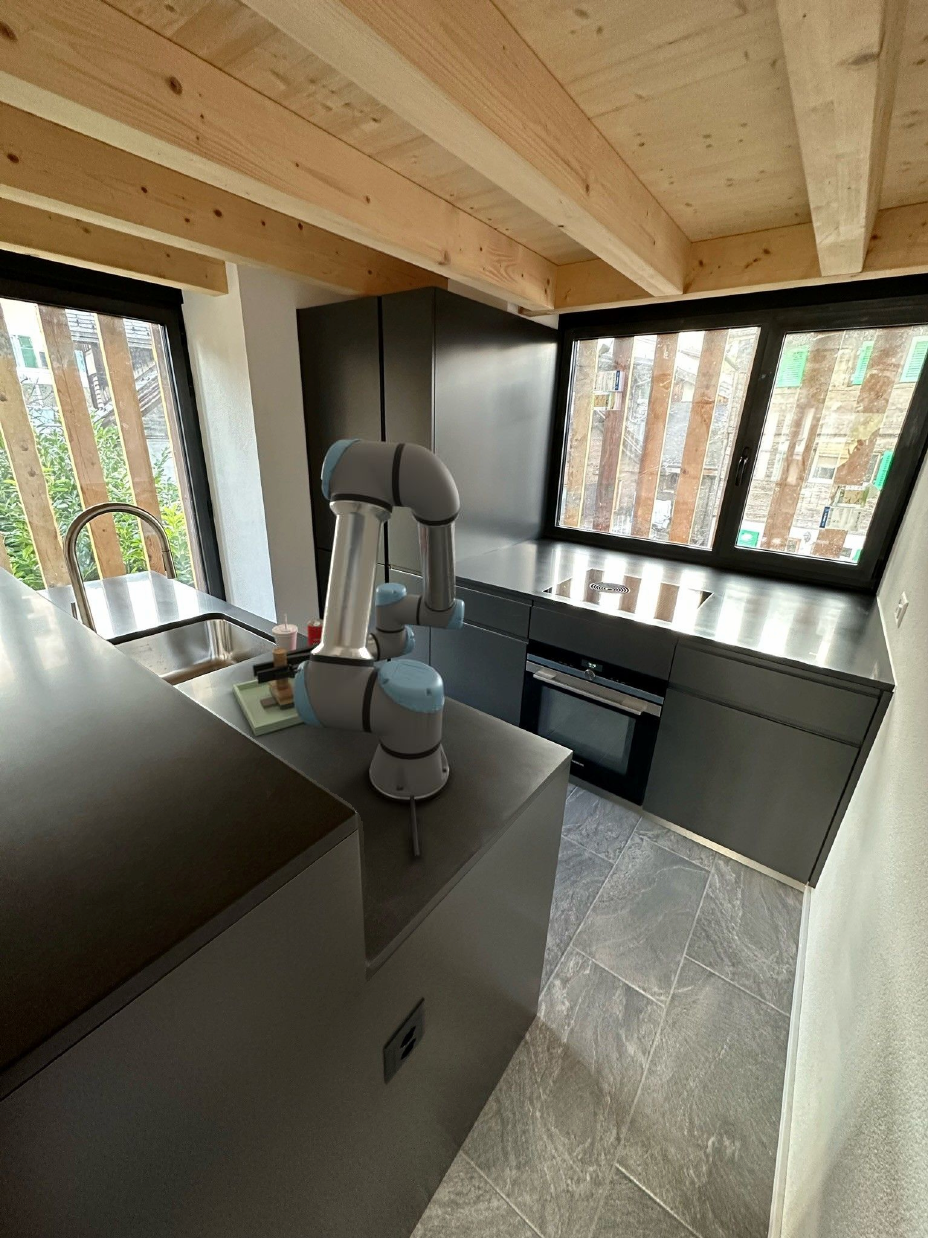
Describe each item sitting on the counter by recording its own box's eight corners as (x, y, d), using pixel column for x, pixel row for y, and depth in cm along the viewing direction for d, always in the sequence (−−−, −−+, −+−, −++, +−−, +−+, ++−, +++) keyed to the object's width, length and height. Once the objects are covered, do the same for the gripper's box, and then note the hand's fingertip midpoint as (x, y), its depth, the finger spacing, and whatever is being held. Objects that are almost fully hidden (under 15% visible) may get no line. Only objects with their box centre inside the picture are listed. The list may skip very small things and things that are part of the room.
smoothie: (284, 669, 134) (280, 620, 128) (270, 661, 138) (265, 613, 132) (305, 661, 139) (301, 613, 133) (290, 653, 142) (286, 606, 137)
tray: (331, 713, 117) (330, 706, 117) (255, 736, 108) (254, 728, 108) (302, 675, 132) (301, 668, 131) (233, 692, 123) (232, 685, 122)
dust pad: (277, 705, 118) (276, 702, 118) (263, 709, 116) (263, 706, 116) (273, 699, 120) (273, 696, 120) (260, 702, 119) (259, 699, 118)
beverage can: (332, 659, 140) (330, 619, 136) (325, 668, 136) (323, 627, 131) (313, 657, 141) (311, 617, 136) (306, 666, 136) (303, 625, 131)
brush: (298, 705, 118) (294, 657, 113) (280, 710, 116) (276, 661, 111) (286, 687, 125) (282, 641, 120) (269, 691, 122) (264, 644, 117)
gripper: (368, 679, 122) (267, 706, 110) (342, 651, 134) (248, 673, 121) (368, 651, 119) (263, 675, 107) (341, 625, 131) (244, 645, 118)
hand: (255, 674), depth 114 cm, fingers closed on brush, 3 cm apart
